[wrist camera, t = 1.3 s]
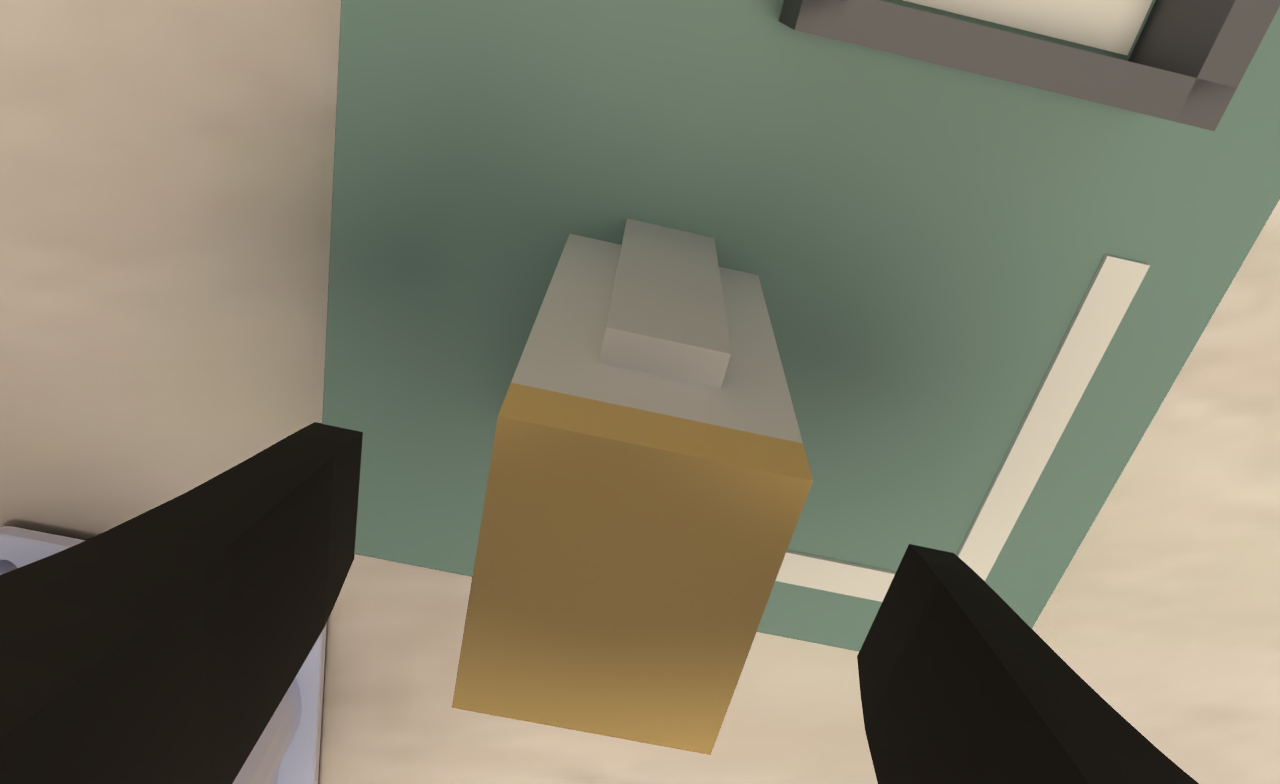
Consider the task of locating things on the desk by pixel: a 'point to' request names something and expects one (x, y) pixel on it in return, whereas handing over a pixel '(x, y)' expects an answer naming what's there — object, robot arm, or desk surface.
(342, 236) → the board
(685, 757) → the desk surface
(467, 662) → the plug
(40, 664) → the robot arm
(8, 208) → the desk surface
